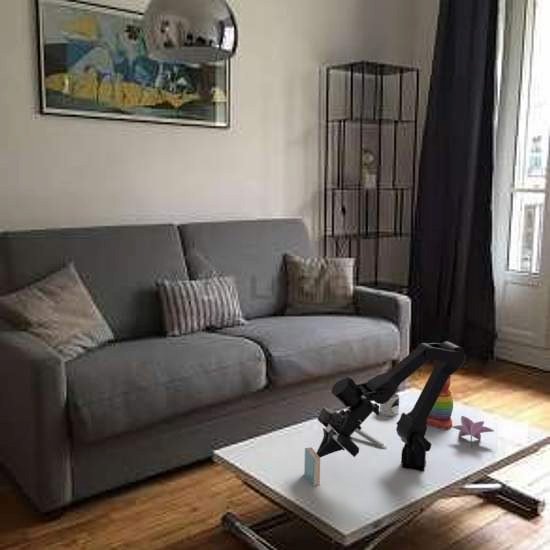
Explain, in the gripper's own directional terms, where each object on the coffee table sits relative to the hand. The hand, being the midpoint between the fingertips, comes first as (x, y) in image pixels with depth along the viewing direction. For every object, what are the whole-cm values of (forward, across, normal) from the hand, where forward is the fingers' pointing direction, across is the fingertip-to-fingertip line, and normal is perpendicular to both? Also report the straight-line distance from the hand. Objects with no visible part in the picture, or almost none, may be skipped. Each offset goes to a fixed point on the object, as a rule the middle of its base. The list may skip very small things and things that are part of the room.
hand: (317, 456), depth 178 cm
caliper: (-12, -22, +22) cm, 33 cm away
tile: (+6, 0, +4) cm, 7 cm away
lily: (-36, -9, +45) cm, 58 cm away
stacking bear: (-35, -27, +44) cm, 62 cm away
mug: (-27, -40, +36) cm, 60 cm away
